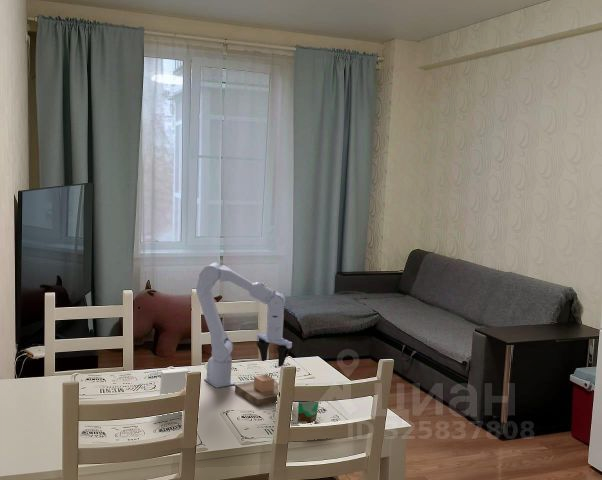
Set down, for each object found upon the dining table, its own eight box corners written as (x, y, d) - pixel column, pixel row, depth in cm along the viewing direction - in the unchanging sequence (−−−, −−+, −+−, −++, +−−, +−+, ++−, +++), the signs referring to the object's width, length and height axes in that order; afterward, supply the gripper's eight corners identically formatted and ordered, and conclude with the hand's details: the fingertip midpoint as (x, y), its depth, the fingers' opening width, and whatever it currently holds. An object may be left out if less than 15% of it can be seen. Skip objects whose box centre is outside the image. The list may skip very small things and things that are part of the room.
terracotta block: (253, 387, 213) (254, 376, 213) (265, 385, 216) (266, 374, 216) (261, 392, 209) (262, 381, 209) (273, 390, 212) (274, 378, 212)
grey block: (163, 413, 192) (165, 376, 191) (156, 402, 200) (158, 367, 199) (191, 409, 196) (193, 374, 195) (183, 399, 204) (185, 365, 203)
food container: (315, 430, 188) (318, 399, 187) (296, 427, 189) (298, 396, 188) (322, 415, 200) (324, 386, 199) (303, 412, 201) (306, 383, 200)
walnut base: (234, 391, 215) (235, 384, 215) (270, 385, 224) (270, 378, 224) (257, 406, 203) (258, 399, 203) (294, 399, 212) (294, 392, 212)
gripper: (252, 324, 219) (249, 360, 221) (284, 332, 211) (282, 370, 213) (264, 320, 225) (261, 356, 226) (296, 329, 217) (293, 365, 219)
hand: (272, 362), depth 220 cm, fingers open, 7 cm apart
